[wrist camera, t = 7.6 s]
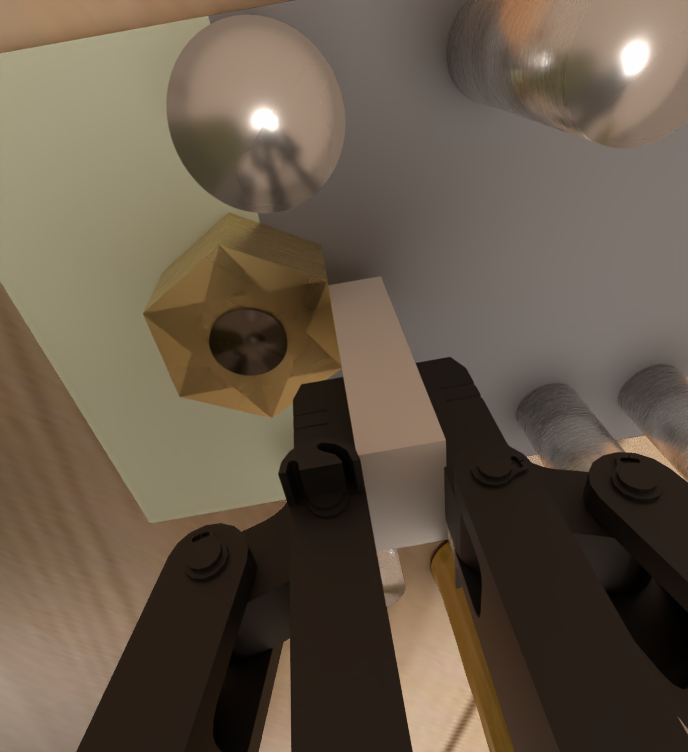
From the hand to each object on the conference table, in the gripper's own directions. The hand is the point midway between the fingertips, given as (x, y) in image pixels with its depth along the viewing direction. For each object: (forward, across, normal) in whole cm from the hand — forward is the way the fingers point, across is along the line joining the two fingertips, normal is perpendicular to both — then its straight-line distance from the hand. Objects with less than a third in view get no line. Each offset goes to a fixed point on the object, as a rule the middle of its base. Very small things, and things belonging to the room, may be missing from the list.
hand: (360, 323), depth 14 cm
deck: (+3, +1, 0) cm, 4 cm away
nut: (+1, -3, +1) cm, 3 cm away
